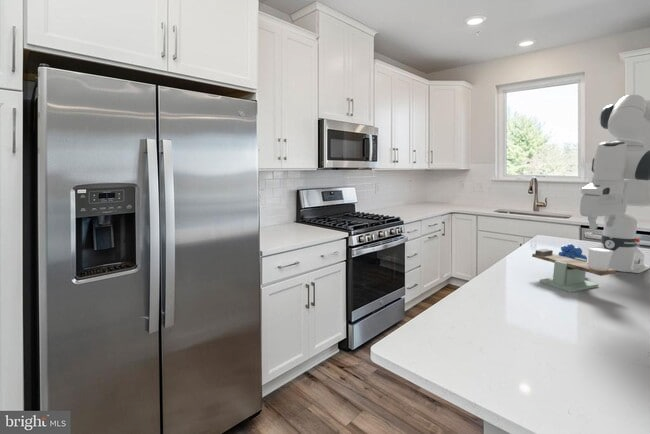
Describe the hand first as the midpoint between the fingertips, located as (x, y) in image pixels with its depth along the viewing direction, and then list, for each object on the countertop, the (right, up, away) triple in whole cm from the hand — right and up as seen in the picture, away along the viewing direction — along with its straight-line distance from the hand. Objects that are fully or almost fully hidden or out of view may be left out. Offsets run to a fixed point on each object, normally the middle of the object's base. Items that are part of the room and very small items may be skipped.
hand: (601, 227), depth 126 cm
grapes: (+7, -20, +27) cm, 35 cm away
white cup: (0, -15, +2) cm, 15 cm away
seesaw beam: (-4, -14, +11) cm, 18 cm away
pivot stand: (-4, -22, +12) cm, 25 cm away
